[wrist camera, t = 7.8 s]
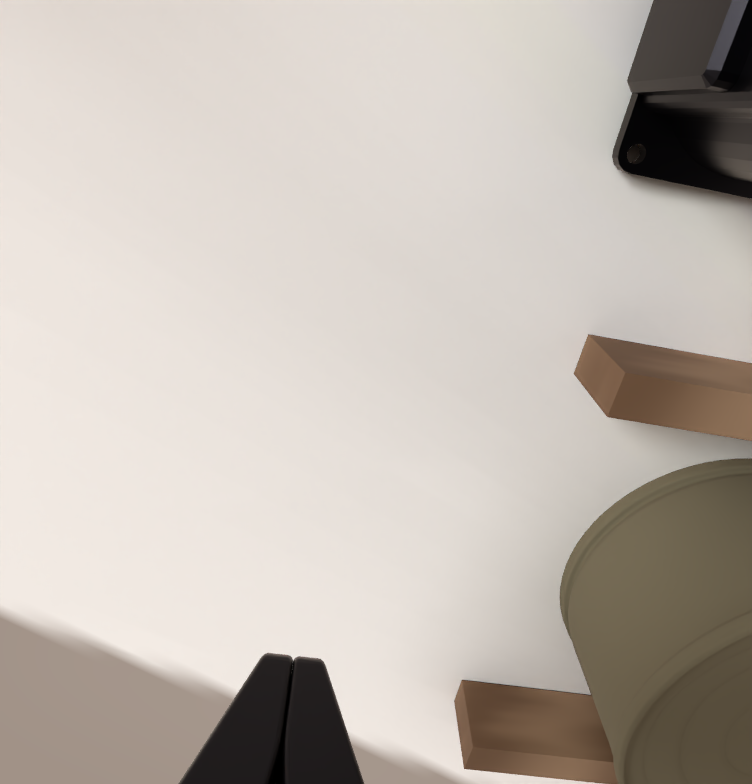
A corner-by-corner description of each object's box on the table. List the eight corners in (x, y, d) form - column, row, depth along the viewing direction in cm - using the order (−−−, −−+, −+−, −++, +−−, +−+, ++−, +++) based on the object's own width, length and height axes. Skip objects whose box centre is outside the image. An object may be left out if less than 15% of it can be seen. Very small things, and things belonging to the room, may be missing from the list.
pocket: (1014, 410, 20) (1155, 475, 16) (769, 737, 28) (829, 831, 24) (588, 334, 19) (640, 388, 15) (454, 701, 26) (467, 795, 23)
